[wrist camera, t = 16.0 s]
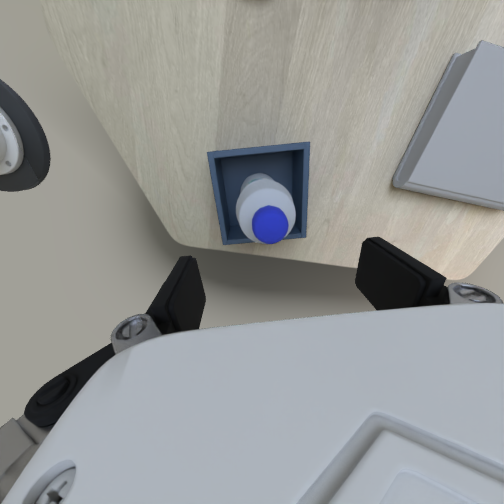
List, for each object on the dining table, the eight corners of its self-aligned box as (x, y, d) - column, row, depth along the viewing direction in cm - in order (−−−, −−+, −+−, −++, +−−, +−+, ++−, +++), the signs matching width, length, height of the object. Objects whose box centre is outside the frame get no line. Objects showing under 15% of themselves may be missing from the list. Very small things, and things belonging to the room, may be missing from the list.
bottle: (284, 193, 35) (324, 234, 17) (255, 216, 37) (263, 275, 19) (261, 161, 32) (280, 170, 15) (231, 187, 34) (215, 224, 16)
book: (482, 39, 24) (629, 88, 27) (453, 54, 27) (585, 95, 30) (403, 189, 32) (522, 214, 35) (388, 185, 36) (498, 209, 38)
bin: (227, 228, 38) (223, 245, 32) (215, 152, 32) (206, 152, 25) (295, 222, 38) (306, 237, 31) (296, 144, 32) (310, 141, 25)
